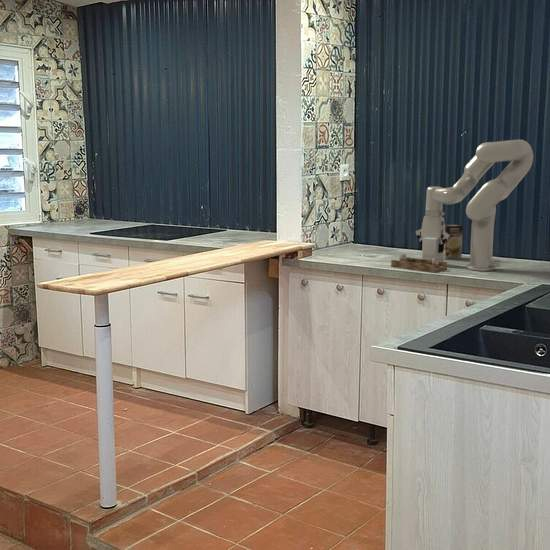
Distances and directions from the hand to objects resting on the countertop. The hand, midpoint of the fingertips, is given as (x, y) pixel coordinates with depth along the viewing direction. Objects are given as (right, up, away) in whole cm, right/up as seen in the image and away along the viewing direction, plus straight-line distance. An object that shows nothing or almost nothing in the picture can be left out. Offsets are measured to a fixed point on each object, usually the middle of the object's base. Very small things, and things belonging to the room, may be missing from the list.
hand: (431, 251), depth 360 cm
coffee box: (+13, -3, +18) cm, 22 cm away
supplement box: (+1, -6, +1) cm, 6 cm away
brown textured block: (-7, -8, -8) cm, 13 cm away
